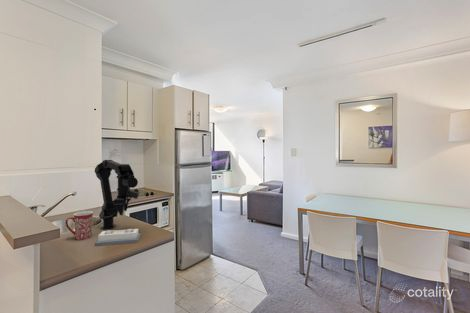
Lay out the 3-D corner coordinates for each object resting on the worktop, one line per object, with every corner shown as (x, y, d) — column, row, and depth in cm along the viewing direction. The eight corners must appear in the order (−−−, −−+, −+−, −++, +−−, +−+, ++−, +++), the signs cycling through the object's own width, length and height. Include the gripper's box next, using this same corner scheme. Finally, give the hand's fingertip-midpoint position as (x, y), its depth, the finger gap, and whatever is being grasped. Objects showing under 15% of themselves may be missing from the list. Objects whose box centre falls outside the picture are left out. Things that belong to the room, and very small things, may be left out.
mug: (94, 233, 130) (94, 210, 130) (91, 239, 121) (91, 214, 121) (68, 236, 125) (68, 212, 125) (63, 242, 117) (62, 216, 116)
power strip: (102, 236, 121) (102, 231, 121) (138, 234, 125) (138, 228, 125) (98, 241, 115) (98, 235, 114) (136, 238, 119) (136, 232, 119)
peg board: (101, 238, 122) (101, 228, 122) (140, 235, 127) (140, 225, 127) (94, 246, 112) (94, 235, 112) (137, 242, 117) (137, 231, 117)
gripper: (135, 188, 122) (135, 216, 122) (141, 183, 140) (141, 208, 140) (112, 188, 119) (113, 218, 119) (121, 184, 137) (121, 209, 137)
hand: (123, 213), depth 129 cm, fingers open, 9 cm apart
